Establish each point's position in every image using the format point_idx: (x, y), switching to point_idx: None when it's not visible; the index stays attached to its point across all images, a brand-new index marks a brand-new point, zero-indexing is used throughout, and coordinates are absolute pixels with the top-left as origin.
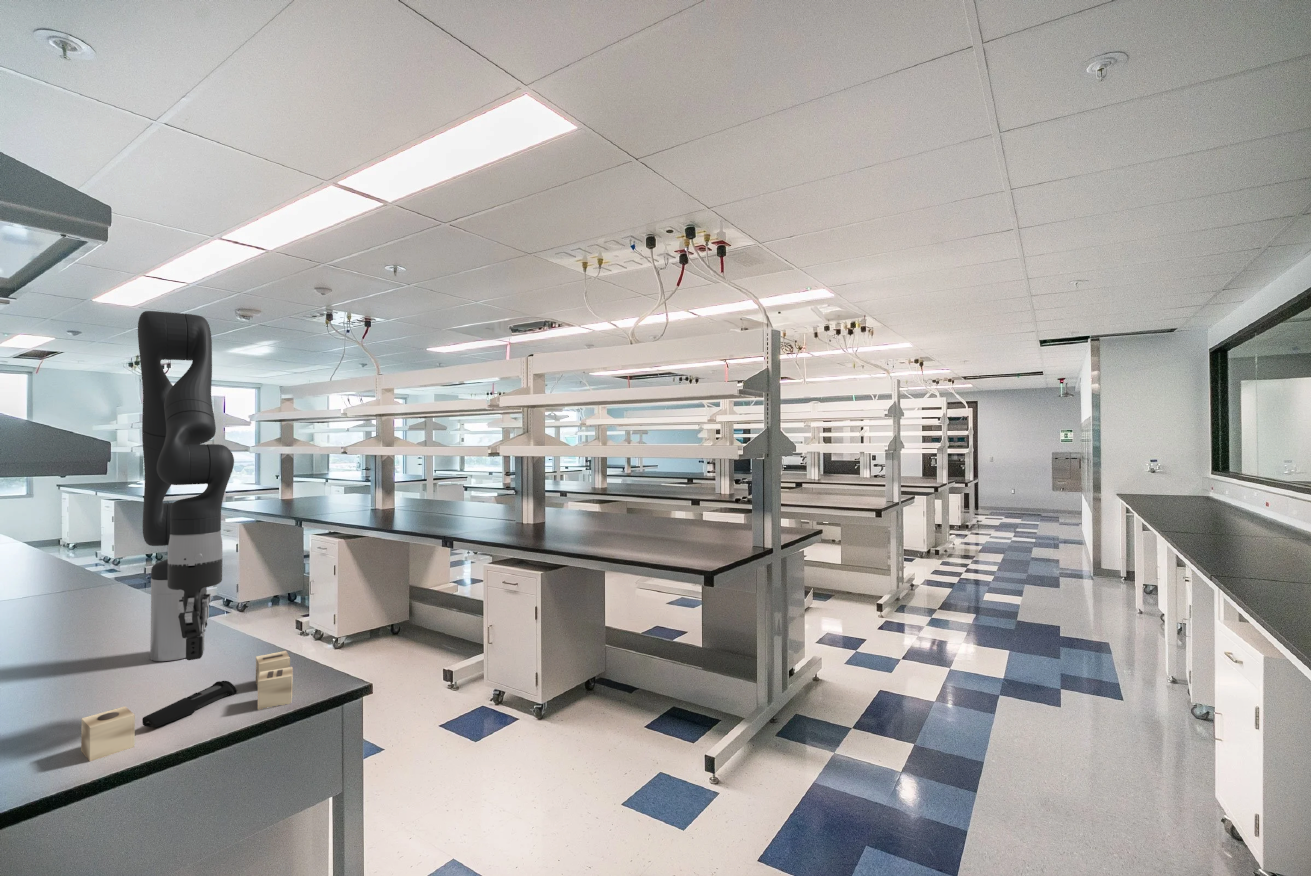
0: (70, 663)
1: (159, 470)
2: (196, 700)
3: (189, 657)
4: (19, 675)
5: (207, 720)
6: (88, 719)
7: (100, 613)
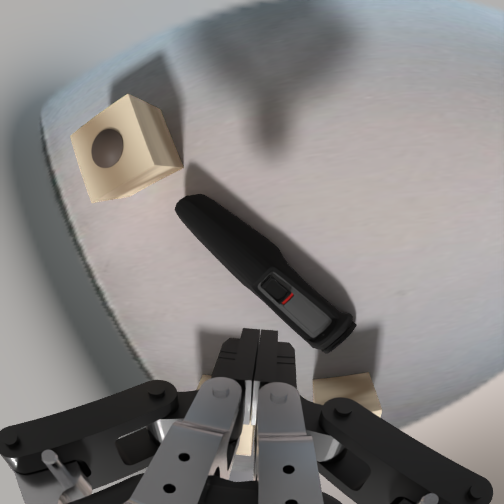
0: None
1: None
2: (255, 293)
3: (231, 341)
4: None
5: (192, 304)
6: (112, 111)
7: None
